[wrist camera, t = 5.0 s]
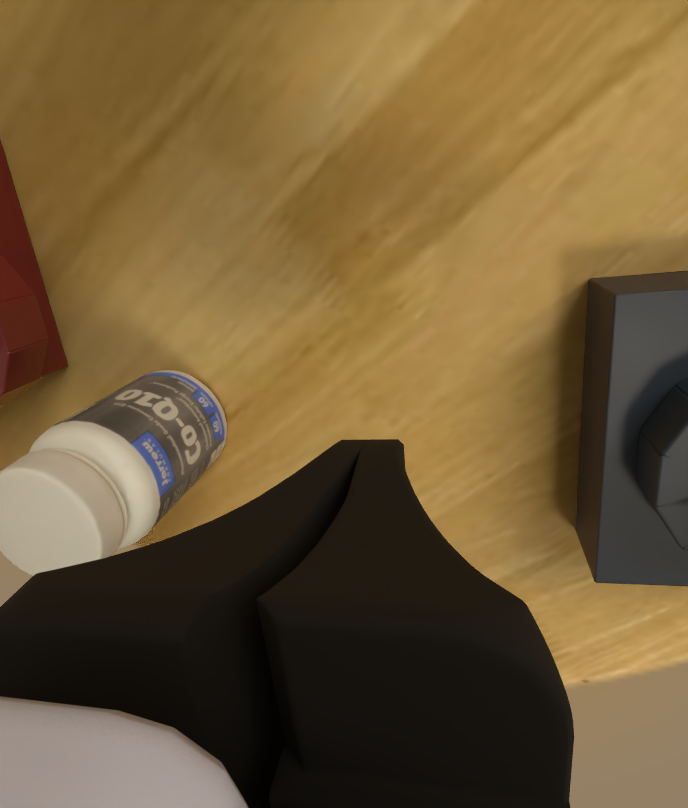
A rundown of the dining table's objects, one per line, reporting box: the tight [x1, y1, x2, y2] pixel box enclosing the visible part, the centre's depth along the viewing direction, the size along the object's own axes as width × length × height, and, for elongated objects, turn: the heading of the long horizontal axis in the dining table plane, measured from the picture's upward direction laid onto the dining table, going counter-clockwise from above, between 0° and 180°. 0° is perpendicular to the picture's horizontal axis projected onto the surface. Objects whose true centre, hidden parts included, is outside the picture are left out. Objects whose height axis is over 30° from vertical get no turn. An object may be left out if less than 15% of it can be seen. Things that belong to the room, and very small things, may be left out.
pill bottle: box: [0, 370, 227, 576], centre depth 19 cm, size 5×5×8 cm
